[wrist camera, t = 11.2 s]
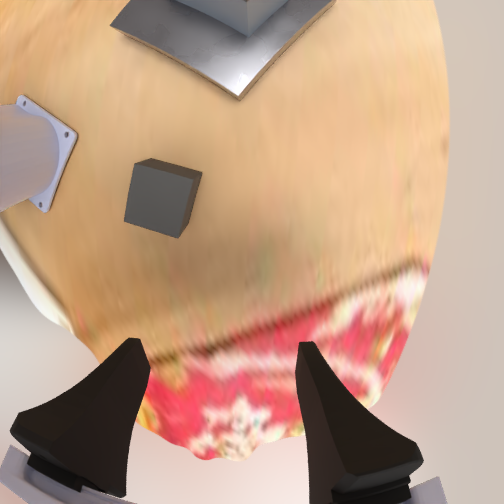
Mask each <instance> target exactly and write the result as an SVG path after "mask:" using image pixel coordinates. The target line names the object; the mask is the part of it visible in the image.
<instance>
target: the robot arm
mask: <svg viewBox="0 0 504 504" xmlns="http://www.w3.org/2000/svg"><path fill="white" fill-rule="evenodd" d="M68 132H69V136H67V133H68ZM76 140H77V133H76V132H75V131H74V130H72V129H71V128H70V127H68V126H67V125H65V124H64V123H62V122H61V121H60V120H58V119H57V118H55V117H54V116H53V115H51V114H50V113H48V112H47V111H46V110H44V109H43V108H41V107H40V106H39V105H37V104H36V103H34V102H33V101H32V100H30V99H29V98H27V97H26V96H25V95H20V96H19V97H18V99H17V101H16V104H9V105H0V212H2V211H4V210H6V209H8V208H10V207H12V206H14V205H16V204H18V203H20V202H23V201H25V200H27V199H29V200H30V201H31V202H32V203H33V204H34V205H36V206H37V207H38V208H39V209H40V210H41V211H42V212H44V213H46V212H48V211H49V209H50V206H51V203H52V200H53V197H54V194H55V191H56V188H57V185H58V183H59V180H60V177H61V175H62V172H63V170H64V167H65V165H66V162H67V160H68V158H69V155H70V153H71V151H72V148H73V146H74V144H75V142H76ZM41 203H42V204H41ZM150 369H151V367H150V365H149V362H148V359H147V357H146V354H145V351H144V349H143V346H142V343H141V340H140V339H138V338H128V339H127V340H126V341H124V342H123V343H122V344H121V345H120V346H119V347H118V348H117V349H116V350H115V351H114V352H113V353H112V354H111V355H110V356H109V357H108V358H107V359H106V360H105V361H104V362H103V363H101V364H100V365H99V366H98V367H97V368H96V369H95V370H94V371H92V372H91V373H90V374H89V375H88V376H87V377H85V378H84V379H83V380H82V381H80V382H79V383H78V384H76V385H75V386H73V387H72V388H71V389H69V390H68V391H66V392H64V393H63V394H61V395H59V396H57V397H56V398H54V399H52V400H50V401H48V402H46V403H44V404H42V405H39V406H37V407H34V408H32V409H29V410H26V411H23V412H20V413H18V415H17V417H16V419H15V421H14V423H13V425H12V427H11V429H10V433H11V435H12V436H13V437H14V438H15V439H16V440H17V441H18V442H19V443H20V444H22V445H23V446H24V447H25V448H26V449H27V450H29V451H30V452H31V455H30V457H29V456H28V455H26V454H25V453H24V452H22V451H20V450H19V449H17V448H16V447H14V446H13V445H10V447H9V449H8V451H7V454H6V456H5V458H4V460H3V463H2V465H1V468H0V482H1V483H2V484H4V485H5V486H6V487H7V488H9V489H10V490H11V491H13V492H14V493H15V494H17V495H18V496H19V497H20V498H22V499H23V500H24V501H26V502H27V503H28V504H135V503H132V502H128V501H125V500H121V499H118V498H115V497H119V498H122V497H124V496H126V474H127V462H128V453H129V446H130V440H131V435H132V430H133V426H134V423H135V420H136V417H137V414H138V411H139V408H140V405H141V402H142V399H143V396H144V393H145V391H146V388H147V384H148V379H149V374H150ZM295 376H296V387H297V395H298V399H299V404H300V409H301V414H302V419H303V423H304V428H305V434H306V440H307V453H308V468H309V503H310V504H447V501H446V497H445V494H444V491H443V488H442V485H441V481H440V478H439V477H435V478H433V479H431V480H428V481H426V482H424V483H421V484H419V485H416V486H414V487H412V488H410V489H409V486H408V484H409V483H410V481H411V480H410V477H409V475H410V474H411V473H413V472H414V471H415V470H417V469H418V468H419V467H420V466H421V465H422V463H423V461H424V460H423V457H422V454H421V452H420V450H419V448H418V446H417V444H416V442H414V441H412V440H410V439H408V438H406V437H404V436H403V435H401V434H399V433H397V432H396V431H394V430H393V429H391V428H390V427H388V426H387V425H386V424H384V423H383V422H382V421H380V420H379V419H378V418H377V417H375V416H374V415H373V414H372V413H370V412H369V411H368V410H367V409H366V408H365V407H364V406H363V405H362V404H361V403H360V402H359V401H358V400H357V399H356V398H355V397H354V396H353V395H352V394H351V393H350V392H349V391H348V390H347V388H346V387H345V386H344V385H343V384H342V382H341V381H340V380H339V379H338V377H337V376H336V375H335V373H334V372H333V371H332V369H331V368H330V366H329V365H328V364H327V362H326V360H325V359H324V357H323V356H322V354H321V353H320V351H319V349H318V348H317V346H316V344H315V343H314V342H313V341H311V342H299V348H298V355H297V363H296V370H295ZM101 492H102V493H101ZM104 493H105V494H104ZM106 494H109V495H113V496H115V497H112V496H109V495H106Z"/></svg>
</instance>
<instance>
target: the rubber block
mask: <svg viewBox="0 0 504 504" xmlns="http://www.w3.org/2000/svg"><path fill="white" fill-rule="evenodd" d="M201 176H202V172H199V171H196V170H192V169H189V168H185V167H181V166H178V165H174V164H171V163H167V162H163V161H159V160H155V159H152V158H151V159H147V160H144V161H141V162H138V163H135V164H134V168H133V173H132V178H131V183H130V188H129V193H128V199H127V205H126V211H125V217H124V222H127V223H130V224H134V225H137V226H140V227H143V228H146V229H149V230H153V231H156V232H159V233H162V234H165V235H169V236H172V237H175V238H179V237H180V235H181V234H182V232H183V231H184V229H185V228H186V226H187V225H188V223H189V219H190V215H191V211H192V208H193V204H194V200H195V197H196V193H197V189H198V186H199V183H200V179H201Z"/></svg>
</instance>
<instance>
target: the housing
mask: <svg viewBox="0 0 504 504" xmlns="http://www.w3.org/2000/svg"><path fill="white" fill-rule="evenodd" d="M176 1H178V2H181V3H183V4H185V5H188V6H190V7H192V8H194V9H197V10H199V11H201V12H203V13H205V14H207V15H209V16H211V17H213V18H215V19H217V20H219V21H221V22H223V23H224V24H226V25H228V26H230V27H232V28H233V29H235V30H237V31H239V32H240V33H242V34H244V35H246V36H247V37H250V36H251V35H252V33H253V32H254V31H255V30H257V29H258V28H259V27H260V26H261V25H262V24H263V23H264V22H265V21H266V20H267V19H268V18H269V17H270V16H271V15H272V14H273V13H274V12H276V11H277V10H278V9H279V8H280V7H281V6H282V5H283V4H285V3H286V2H287V1H288V0H176Z"/></svg>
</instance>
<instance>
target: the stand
mask: <svg viewBox="0 0 504 504" xmlns="http://www.w3.org/2000/svg"><path fill="white" fill-rule="evenodd" d="M335 2H336V0H288V1H287V2H286V3H285V4H283V5H282V6H281V7H280V8H279V9H278V10H277V11H276V12H274V13H273V14H272V15H271V16H270V17H269V18H268V19H267V20H266V21H265V22H264V23H263V24H262V25H261V26H260V27H259V28H258V29H257V30H255V31H254V32H253V33H252V35H251V36H250V37H247V36H246V35H244V34H242V33H240V32H239V31H237V30H235V29H233V28H232V27H230V26H228V25H226V24H224V23H223V22H221V21H219V20H217V19H215V18H213V17H211V16H209V15H207V14H205V13H203V12H201V11H199V10H197V9H194V8H192V7H190V6H188V5H185V4H183V3H181V2H178V1H176V0H130V2H129V3H128V4H127V5H126V6H125V7H124V8H123V10H122V11H121V12H120V13H119V14H118V16H117V17H116V18H115V19H114V21H113V22H112V23H111V24H110V26H111V27H113V28H114V29H116V30H117V31H119V32H121V33H122V34H124V35H126V36H128V37H130V38H132V39H135V40H137V41H139V42H141V43H143V44H145V45H147V46H149V47H151V48H153V49H155V50H157V51H159V52H161V53H162V54H164V55H166V56H168V57H170V58H172V59H173V60H175V61H177V62H179V63H181V64H182V65H184V66H186V67H188V68H189V69H191V70H193V71H194V72H196V73H198V74H199V75H201V76H203V77H204V78H206V79H207V80H209V81H211V82H212V83H214V84H215V85H217V86H218V87H220V88H222V89H223V90H225V91H226V92H228V93H229V94H231V95H232V96H234V97H235V98H237V99H238V100H239V101H240V100H241V99H242V98H243V97H244V96H245V94H246V93H247V92H248V91H249V90H250V89H251V87H252V86H253V85H254V84H255V83H256V82H257V80H258V79H259V78H260V77H261V76H262V75H263V74H264V73H265V71H266V70H267V69H268V68H269V67H270V66H271V65H272V64H273V63H274V62H275V61H276V59H277V58H278V57H279V56H280V55H281V54H282V53H283V52H284V51H285V50H286V49H287V48H288V47H289V46H290V45H291V44H292V43H293V42H294V41H295V40H296V39H297V38H298V37H299V36H300V35H301V34H302V33H303V32H304V31H305V30H306V29H307V28H308V27H309V26H310V25H311V24H312V23H313V22H315V21H316V20H317V19H318V18H319V17H320V16H321V15H322V14H323V13H324V12H326V11H327V10H328V9H329V8H330V7H331V6H332V5H334V3H335Z"/></svg>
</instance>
